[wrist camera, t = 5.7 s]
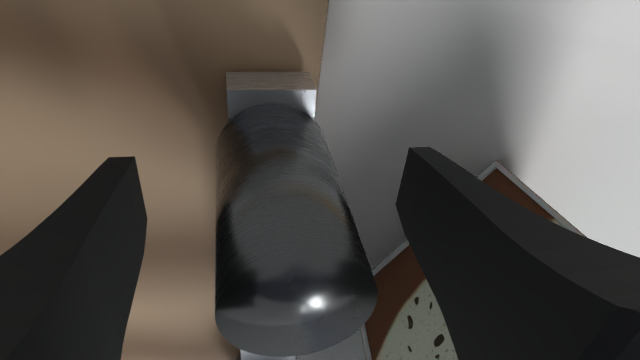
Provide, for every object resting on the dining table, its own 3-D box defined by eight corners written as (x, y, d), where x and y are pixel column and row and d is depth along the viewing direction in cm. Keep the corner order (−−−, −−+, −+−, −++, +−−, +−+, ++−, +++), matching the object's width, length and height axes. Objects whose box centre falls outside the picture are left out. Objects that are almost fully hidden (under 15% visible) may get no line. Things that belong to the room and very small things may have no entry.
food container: (410, 334, 26) (492, 546, 18) (332, 304, 23) (392, 543, 15) (590, 195, 21) (803, 398, 14) (524, 134, 18) (750, 351, 11)
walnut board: (278, 359, 25) (281, 385, 24) (43, 384, 23) (34, 413, 21) (319, -14, 13) (328, 0, 12) (-163, -52, 11) (-209, -39, 10)
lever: (296, 373, 23) (321, 533, 18) (234, 381, 22) (239, 550, 17) (322, 71, 13) (393, 229, 8) (211, 71, 12) (207, 242, 7)
